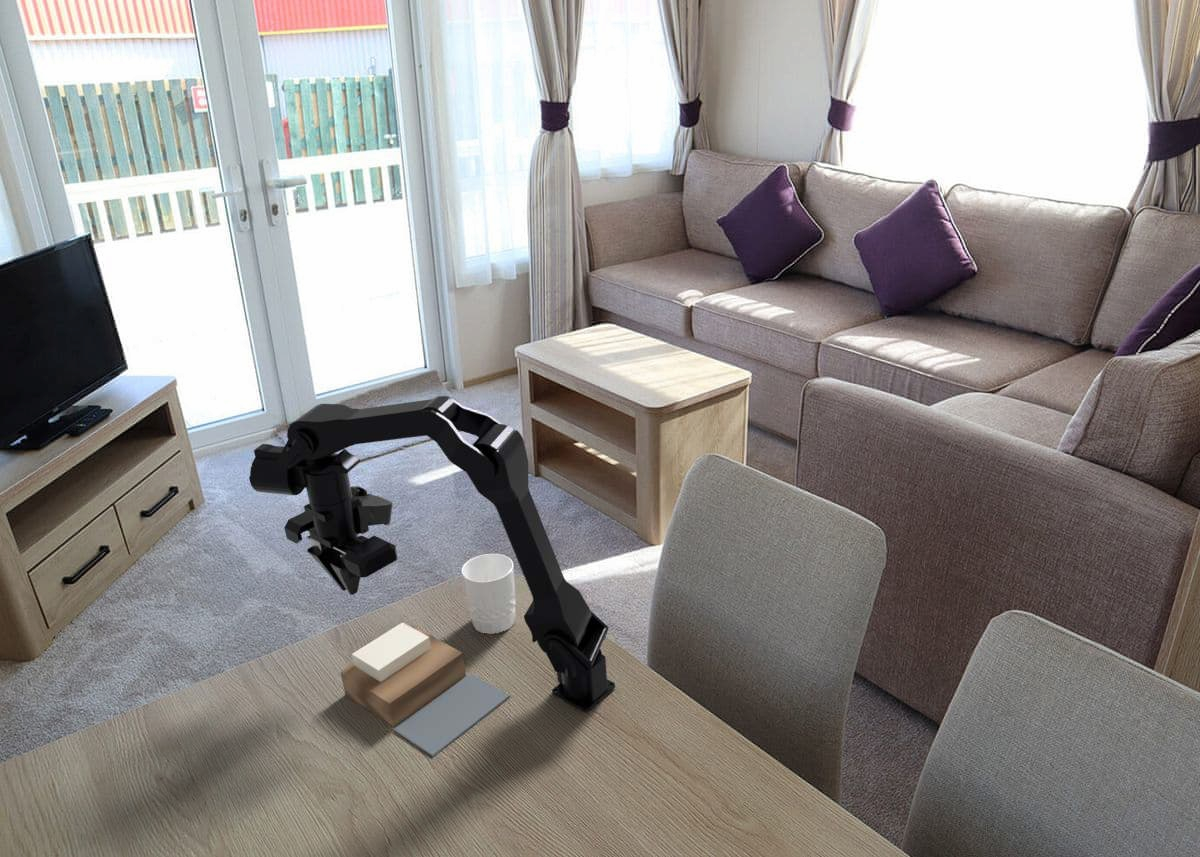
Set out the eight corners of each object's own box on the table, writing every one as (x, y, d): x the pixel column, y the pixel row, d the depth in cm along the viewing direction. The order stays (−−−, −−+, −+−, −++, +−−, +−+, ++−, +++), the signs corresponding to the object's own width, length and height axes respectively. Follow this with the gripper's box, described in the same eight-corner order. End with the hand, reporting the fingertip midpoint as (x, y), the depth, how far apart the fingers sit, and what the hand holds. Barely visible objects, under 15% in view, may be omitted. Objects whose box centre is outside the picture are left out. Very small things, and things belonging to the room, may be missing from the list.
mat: (510, 697, 128) (509, 695, 128) (432, 756, 118) (432, 755, 118) (470, 674, 133) (470, 673, 133) (393, 730, 123) (393, 728, 123)
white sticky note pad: (431, 648, 132) (429, 637, 132) (380, 682, 126) (378, 670, 126) (404, 633, 136) (402, 622, 135) (354, 665, 130) (351, 654, 129)
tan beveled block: (465, 675, 133) (462, 652, 131) (394, 726, 124) (389, 703, 122) (416, 647, 139) (412, 625, 138) (345, 694, 131) (340, 671, 129)
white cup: (501, 600, 149) (494, 547, 145) (529, 621, 144) (523, 567, 140) (459, 621, 145) (451, 567, 141) (487, 643, 139) (479, 588, 135)
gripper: (419, 490, 126) (435, 586, 133) (338, 457, 137) (356, 547, 144) (352, 524, 119) (372, 624, 125) (272, 487, 130) (294, 580, 136)
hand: (349, 591), depth 133 cm, fingers closed
